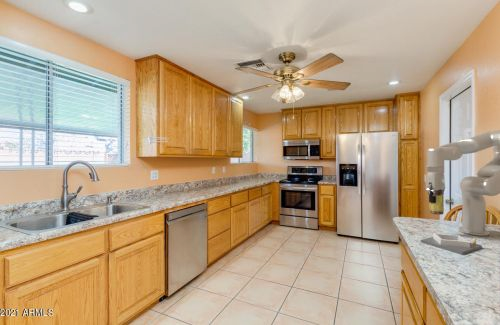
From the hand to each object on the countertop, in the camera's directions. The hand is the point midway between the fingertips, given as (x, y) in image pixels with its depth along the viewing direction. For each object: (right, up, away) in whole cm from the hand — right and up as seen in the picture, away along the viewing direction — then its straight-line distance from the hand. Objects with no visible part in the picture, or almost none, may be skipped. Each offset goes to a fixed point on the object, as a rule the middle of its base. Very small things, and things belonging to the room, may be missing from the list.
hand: (436, 201), depth 131 cm
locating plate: (-6, -18, -16) cm, 25 cm away
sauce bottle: (0, -7, 0) cm, 7 cm away
